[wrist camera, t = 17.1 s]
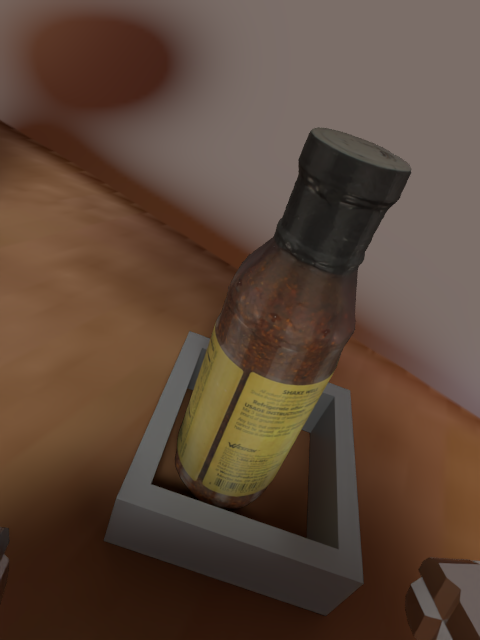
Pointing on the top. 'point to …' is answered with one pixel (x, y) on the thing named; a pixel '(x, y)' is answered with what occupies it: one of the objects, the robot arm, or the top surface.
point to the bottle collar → (241, 532)
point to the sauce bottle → (285, 321)
